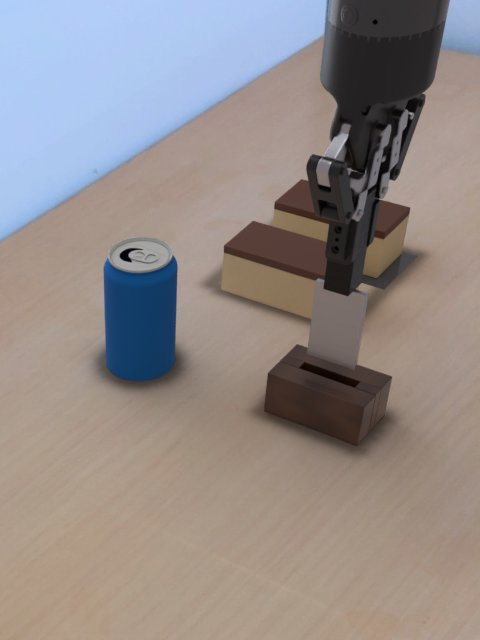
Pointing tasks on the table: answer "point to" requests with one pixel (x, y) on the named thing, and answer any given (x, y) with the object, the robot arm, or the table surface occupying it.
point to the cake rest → (300, 218)
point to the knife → (341, 303)
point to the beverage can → (140, 308)
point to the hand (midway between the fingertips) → (348, 251)
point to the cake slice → (274, 267)
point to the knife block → (327, 395)
